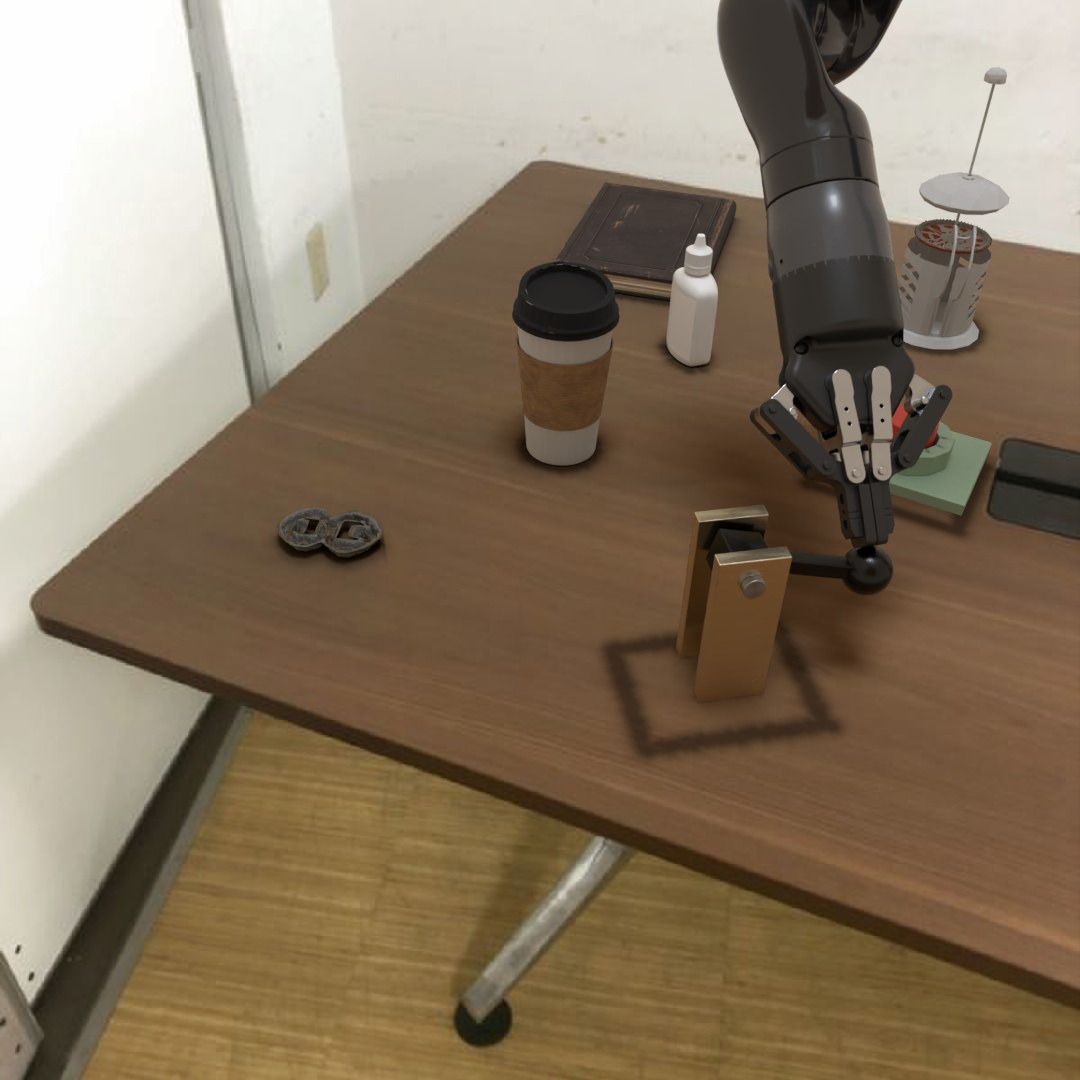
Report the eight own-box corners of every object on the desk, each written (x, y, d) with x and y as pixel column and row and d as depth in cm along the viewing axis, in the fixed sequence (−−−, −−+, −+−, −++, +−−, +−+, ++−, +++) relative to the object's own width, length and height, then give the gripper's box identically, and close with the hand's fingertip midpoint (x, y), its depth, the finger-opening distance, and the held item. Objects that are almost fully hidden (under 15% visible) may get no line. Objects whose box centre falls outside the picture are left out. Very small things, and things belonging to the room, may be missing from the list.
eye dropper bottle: (662, 365, 106) (674, 246, 98) (666, 336, 110) (678, 220, 102) (709, 370, 105) (724, 250, 98) (711, 340, 109) (726, 224, 102)
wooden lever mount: (778, 626, 78) (810, 479, 70) (827, 722, 72) (868, 572, 64) (612, 646, 77) (625, 498, 68) (646, 747, 70) (664, 595, 62)
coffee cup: (598, 414, 99) (608, 256, 89) (620, 470, 92) (633, 306, 83) (504, 422, 98) (504, 262, 88) (520, 479, 91) (521, 313, 82)
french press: (973, 307, 116) (1047, 55, 100) (987, 363, 107) (1072, 96, 91) (876, 298, 117) (934, 47, 101) (882, 353, 108) (947, 87, 92)
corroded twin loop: (289, 513, 87) (287, 502, 86) (390, 523, 86) (389, 512, 86) (269, 554, 83) (267, 543, 82) (374, 565, 82) (373, 554, 82)
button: (939, 432, 91) (944, 413, 90) (927, 456, 89) (932, 437, 88) (891, 418, 93) (895, 400, 92) (877, 441, 90) (882, 423, 89)
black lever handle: (866, 575, 73) (888, 536, 71) (887, 608, 70) (910, 569, 68) (700, 558, 69) (718, 517, 67) (716, 592, 66) (735, 551, 65)
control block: (985, 464, 94) (998, 424, 92) (957, 528, 87) (970, 487, 85) (846, 423, 99) (855, 384, 96) (810, 481, 92) (818, 441, 89)
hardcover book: (551, 283, 118) (552, 262, 117) (603, 200, 135) (604, 182, 134) (700, 306, 115) (703, 285, 114) (735, 218, 132) (737, 199, 131)
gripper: (751, 257, 65) (791, 551, 64) (960, 244, 67) (1003, 528, 66) (712, 297, 73) (747, 562, 71) (902, 284, 75) (939, 541, 73)
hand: (870, 545), depth 69 cm, fingers closed
